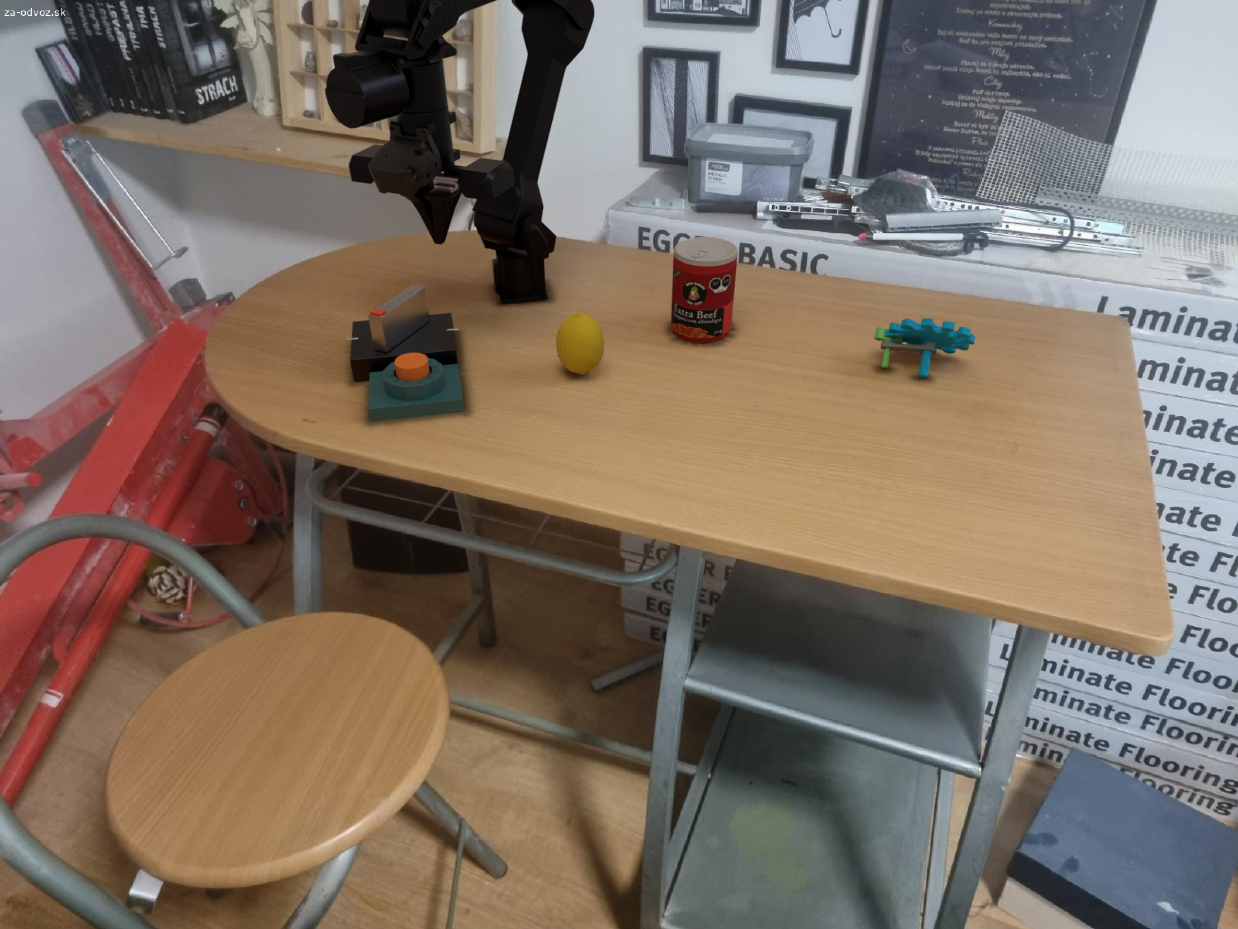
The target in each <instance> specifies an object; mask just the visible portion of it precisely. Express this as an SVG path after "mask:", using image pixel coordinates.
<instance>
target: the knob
mask: <svg viewBox="0 0 1238 929" xmlns="http://www.w3.org/2000/svg"><path fill="white" fill-rule="evenodd" d="M426 289H427V288H426V286H424V285H420V284H414V283H413V284H411V285H410V286H408V287H406V288H404V290H402V291H401V292H399V293H398V294H396V295H394V296H393V297H392V298H390V299H389V300H387V301H386V302H384V303H383V304H381V305H380V306H378V307H377V308H374V309H372V310H370V311H369V313H368V314H367V316H368V320H369V323H370V328H371V334H372V339H373V345H374V350H378V351H383V352H388V351H390V350H391V349H392V348H394V347H395V346H396V345H398V344H399V343H400V342H402V341H403V340H404V339H406V338H407V337H408V336H410V335H411V334H412V333H414V332H415V331H416V330H418V329H419V328H420V327H422V326H423V325H424V324H426V323H427V322H428V321H430V317H429V315H430V310H429V304H428V295H427V290H426Z"/></svg>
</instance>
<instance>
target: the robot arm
mask: <svg viewBox="0 0 1238 929" xmlns="http://www.w3.org/2000/svg"><path fill="white" fill-rule="evenodd" d="M497 1H498V0H368V3H367V6H366V9H365V12H364V16H363V18H362V23H361V26H360V28H359V32H358V35H357V38H356V41H355V44H354V50H355V51H353V52H338V53H336V54H335V53H334V54H333V55H332V62H333V66H334V68H332V69H331V70H330V71H329V73H328V74H327V77H326V82H325V84H326V85H325V88H324V94H325V98H326V102H327V106H328V107H329V110H330V111H331V113H332V115H333V116H334V117H335V119H336V121H338V122H339V123H340V124H341V125H342V126H344V127H345V128H348V129H351V130H353V129H358V128H361V127H365V126H367V125H371V124H374V123H377V122H380V121H384V120H388V119H390V118H393V117H396V118H393V119H390V120H389V123H390V124H389V127H388V129H389V140H388V142H386V143H384V144H383V145H381V144H373V145H370V146H369V147H366V148H363V149H362V150H360V151H357V152H356V153H354V154H352V155H351V157H350V159H349V162H348V164H347V166H348V171H349V177H350V181H351V182H354V183H360V184H368V185H372V184H375V186H376V188H377V191H378V193H380V194H387V193H389V194H394V195H399V196H401V197H404V198H405V199H407V200H408V201H410V202H411V203H412V205H413V206H414V208H415V210H416V211H417V214H418V215H419V217H420V218H421V220H422V222H423V224H424V226H425V228H426V230H427V232H428V234H429V235H430V238H431V240H432V242H433V243H434V244H435V245H439V246H441V245H443V244H445V242H446V240H447V236H448V233H449V230H450V227H451V223H452V221H453V216H454V213H455V211H456V208H457V206H458V202H460V201H459V200H460V198H461V196H462V195H463V197H464V198H467V199H474V200H475V203H474V204H473V205H474V206H473V207H472V208H471V210H472V212H474V215H473V227H475V228H476V232H477V234H478V235H479V237H480V239H481V242H482V245H483V247H484V249H487V250H491V251H494V252H495V258H492V260H491V266H492V278H493V279H492V280H493V289H494V292H495V294H496V295H498V297H499V299H500V300H499V301H500V303H501V304H513V303H514V304H515V303H523V302H534V301H545V300H548V299H549V293H548V290H547V287H546V286H547V285H546V267H545V260H547V259H549V258H550V254H553V253H554V252H555V249H556V248H555V247H556V243H557V234H555V233H554V232H553V231H552V230H551V229H550V228H549V227H548V226H547V225H546V224H545V223H544V222H543V221H542V220H543V215H544V208H545V206H544V202H543V198H542V194H541V191H540V187H539V178H540V173H541V170H542V165H543V162H544V158H545V153H546V149H547V145H548V142H549V137H550V133H551V129H552V126H553V122H554V117H555V113H556V109H557V107H558V106H557V105H558V102H559V98H560V94H561V89H562V85H563V82H564V78H565V73H566V70H567V67H568V66H569V65H570V64H571V63H572V62H573V61H574V60H575V59H576V57H578V55H579V54H580V53H581V52H582V51H583V49H584V48H585V45H586V43H587V40H588V37H589V35H590V32H591V30H592V27H593V23H594V21H595V20H594V19H595V6H594V3H593V0H511V3H512V5H513V6H514V7H515V8H516V9H517V10H518V11H519V13H520V14H522V20H521V29H520V30H521V33H522V39H523V42H524V46H525V49H526V54H527V55H526V61H525V64H524V69H523V73H522V77H521V82H520V84H519V85H520V86H519V90H518V93H517V97H516V98H517V99H516V102H515V107H514V111H513V113H512V114H513V115H512V119H511V123H510V127H509V131H508V135H507V139H506V143H505V147H504V153H503V155H502V156H503V157H502V160H501V159H493V158H485V157H479V158H478V159H476V160H474V161H472V162H471V163H469V164H467V165H459V164H456V161H459V160H460V159H461V151H460V150H461V149H459V148H454V143H453V135H452V127H451V125H452V124H454V123H456V122H457V115H456V111H449V101H448V93H447V82H446V75H445V74H446V73H445V66H444V60H445V59H448V58H451V57H455V56H457V54H458V50H457V48H456V47H454V46H453V45H452V44H451V43H449V42H448V41H447V39H445V38H444V35H446V34H447V33H449V32H450V31H452V30H453V29H454V28H455V27H456V26H457V24H458V22H459V20H460V17H462V16H463V15H465V14H466V13H468V12H470V11H473V10H476V9H478V8H481V7H483V6H484V7H485V6H486V5H489V4H492V3H494V2H497ZM392 37H394V38H392Z"/></svg>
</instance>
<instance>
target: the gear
mask: <svg viewBox="0 0 1238 929" xmlns="http://www.w3.org/2000/svg"><path fill="white" fill-rule="evenodd" d="M934 321H935V320H934V318H932V317H925V318H921V320H920V323H919V322H917V321H915V320H913V319H912V318H904V319H902V320H901V323H898V322H890V323H889V327H888V328H884V327H880V326H879V327H876V328H875V335H874V340H875V341H877V342H880V346H879V348H880V349H881V350H882V351H883V352H882V360H881V366H880V367H881V368H882V369H888V368H889V361H890V355H891V352H900V353H901V352H902V353H913V354H915V353H916V354H921V356H920V363H919V368H918V369H919V370H918V377H919V378H922V379H927V378H928V377H929V370H930V364H931V359H932V358H931V357H932V355H935V354H937V352H938V350H939V351H941V352H944V353H945V354H948V355H950V354H955V353H956V352H957V350H960V351H963V352H965V351H966V352H967V351H968V350H969V349H970V346H972V345H975V343H976V335H975V334H973V333H971V330H972V329H971V328H968V327H966V326H960V327H958V329H957V330H955V325H956V322H954V321H949V320H943V321H942V323H941V324H942V325H941V326H940V325H937V324H936V323H935V322H934Z"/></svg>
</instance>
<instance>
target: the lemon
mask: <svg viewBox="0 0 1238 929" xmlns="http://www.w3.org/2000/svg"><path fill="white" fill-rule="evenodd" d="M604 337H605V336H604V333H603V330H602V327H601V325H600V323H599V322H598V321H597V320H596V318H594V317H593V316H591V315H589V314H587V313H584V312H582V311H577V312H576V313H573V314H570V315H568V316H567V317H566V318H564V320H562V322H561V323H560V324H559V327H558V329H557V333H556V337H555V338H556V339H555V346H556V347H555V348H556V353H557V357H558V359H559V361H560V363H561V365H562V366H563V367H564V368H565V369H567V370H568V371H570V372H571V373H576V374H577V375H579V376H583V375H584V374H586V373H589V372H591V371H593V370H594V369H596V367H598V366H599V364H600V362H601V361H602V359H603V356H604V354H605V353H604V352H605V338H604Z"/></svg>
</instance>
